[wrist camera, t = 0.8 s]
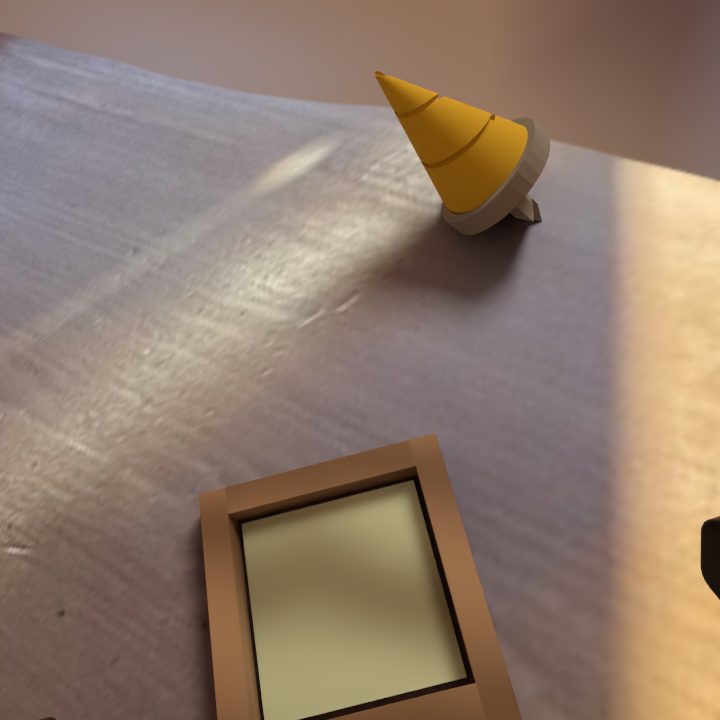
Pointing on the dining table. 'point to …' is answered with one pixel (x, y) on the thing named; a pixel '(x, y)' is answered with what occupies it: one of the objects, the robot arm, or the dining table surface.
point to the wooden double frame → (348, 594)
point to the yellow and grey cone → (471, 156)
